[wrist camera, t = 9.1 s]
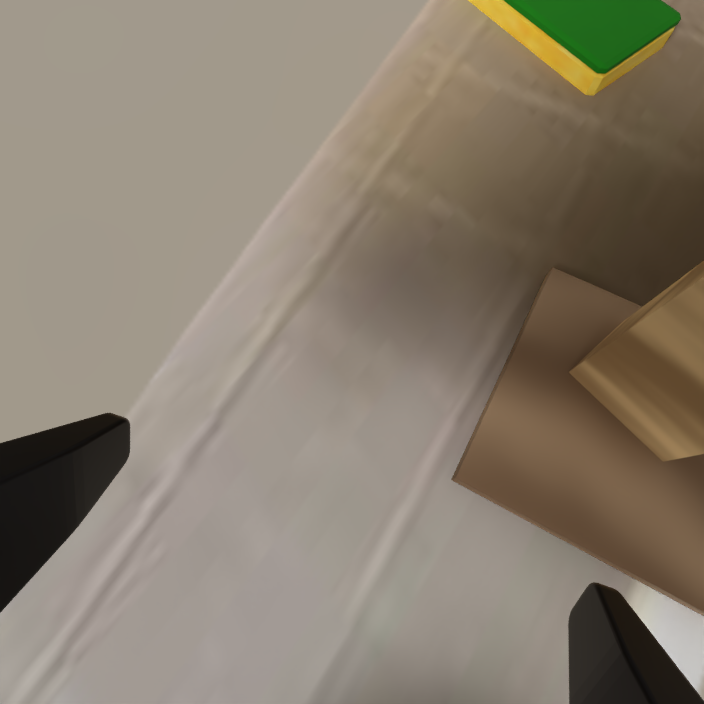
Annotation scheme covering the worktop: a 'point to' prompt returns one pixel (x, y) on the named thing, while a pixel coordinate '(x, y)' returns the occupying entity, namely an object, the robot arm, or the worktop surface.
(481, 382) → the worktop surface
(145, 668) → the worktop surface
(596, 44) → the dish sponge
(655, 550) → the base board
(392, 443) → the worktop surface
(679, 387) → the wooden block
